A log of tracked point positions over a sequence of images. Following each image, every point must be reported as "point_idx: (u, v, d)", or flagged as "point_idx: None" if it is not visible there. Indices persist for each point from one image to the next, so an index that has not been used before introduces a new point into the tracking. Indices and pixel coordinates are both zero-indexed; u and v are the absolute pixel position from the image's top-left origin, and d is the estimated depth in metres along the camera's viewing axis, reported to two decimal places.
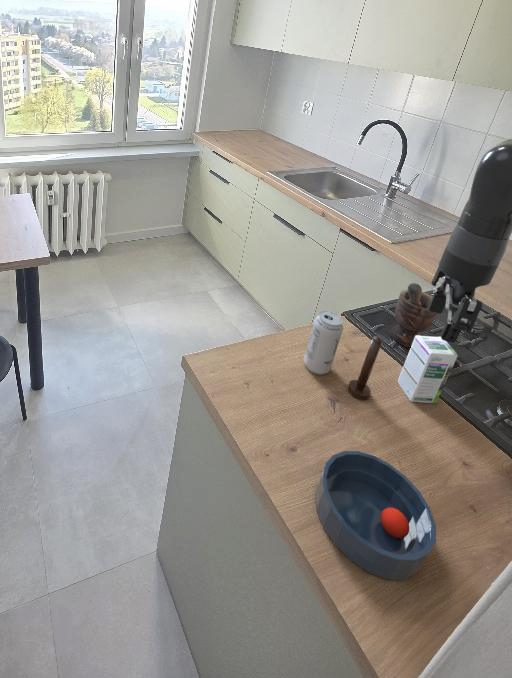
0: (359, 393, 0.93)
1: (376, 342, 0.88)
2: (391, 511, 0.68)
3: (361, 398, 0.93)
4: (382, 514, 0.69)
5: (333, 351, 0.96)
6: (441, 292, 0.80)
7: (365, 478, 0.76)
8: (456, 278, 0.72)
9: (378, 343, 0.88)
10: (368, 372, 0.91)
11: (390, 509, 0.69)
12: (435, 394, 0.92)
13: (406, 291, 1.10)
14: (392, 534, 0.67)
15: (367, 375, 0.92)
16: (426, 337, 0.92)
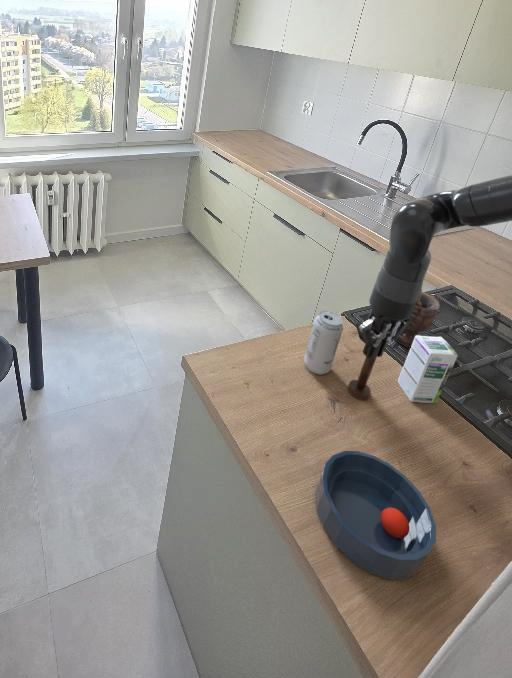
0: (359, 393, 0.93)
1: None
2: (391, 511, 0.68)
3: (361, 398, 0.93)
4: (382, 514, 0.69)
5: (333, 351, 0.96)
6: None
7: (365, 478, 0.76)
8: (370, 303, 0.86)
9: None
10: (368, 372, 0.91)
11: (390, 509, 0.69)
12: (435, 394, 0.92)
13: None
14: (392, 534, 0.67)
15: (367, 375, 0.92)
16: (426, 337, 0.92)
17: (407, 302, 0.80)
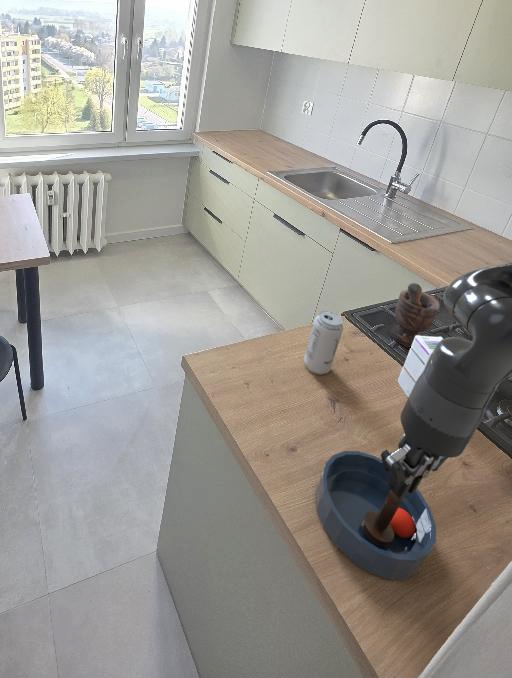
0: (379, 537, 0.66)
1: None
2: (403, 511, 0.68)
3: (381, 545, 0.66)
4: None
5: (333, 351, 0.96)
6: None
7: (365, 478, 0.76)
8: (402, 423, 0.59)
9: None
10: (393, 511, 0.64)
11: (401, 509, 0.69)
12: None
13: (406, 291, 1.10)
14: (398, 531, 0.67)
15: (391, 515, 0.65)
16: (426, 337, 0.92)
17: (462, 435, 0.53)
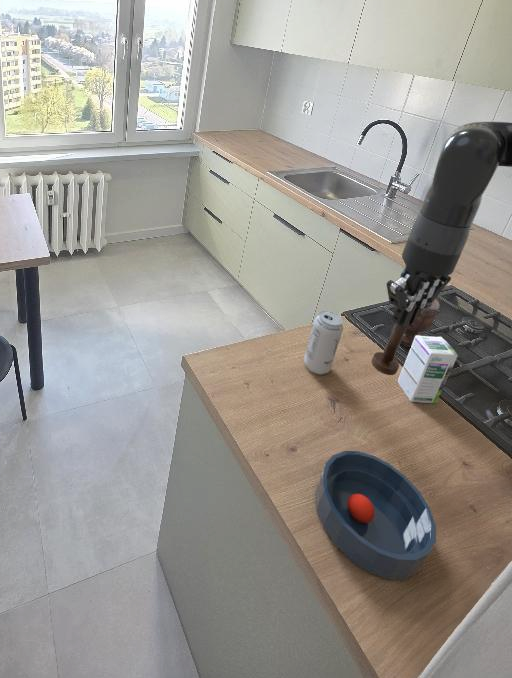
0: (387, 367, 0.79)
1: None
2: (349, 509, 0.70)
3: (389, 373, 0.79)
4: (348, 502, 0.72)
5: (333, 351, 0.96)
6: None
7: (365, 478, 0.76)
8: (403, 258, 0.72)
9: None
10: (398, 342, 0.78)
11: (349, 505, 0.70)
12: (435, 394, 0.92)
13: None
14: None
15: (397, 345, 0.78)
16: (426, 337, 0.92)
17: (451, 253, 0.67)
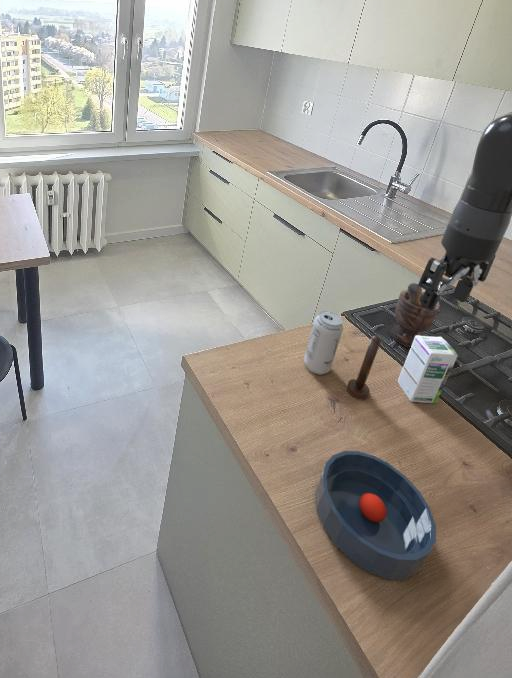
0: (359, 393, 0.93)
1: (375, 341, 0.88)
2: (368, 501, 0.70)
3: (361, 397, 0.93)
4: (362, 496, 0.71)
5: (333, 351, 0.96)
6: (466, 278, 0.78)
7: (365, 478, 0.76)
8: (443, 244, 0.74)
9: (377, 342, 0.88)
10: (367, 371, 0.92)
11: (370, 499, 0.70)
12: (435, 394, 0.92)
13: (406, 291, 1.10)
14: (363, 513, 0.71)
15: (366, 374, 0.92)
16: (426, 337, 0.92)
17: (493, 238, 0.68)
